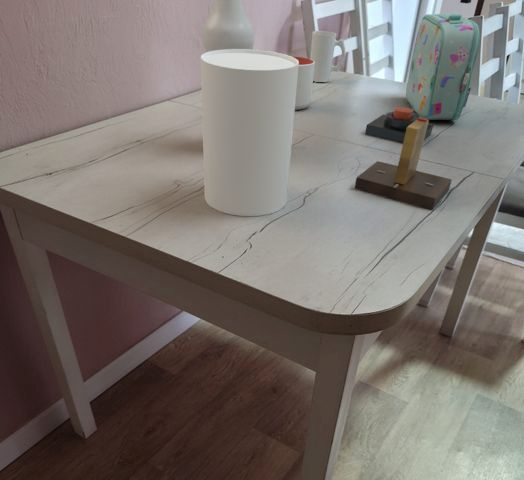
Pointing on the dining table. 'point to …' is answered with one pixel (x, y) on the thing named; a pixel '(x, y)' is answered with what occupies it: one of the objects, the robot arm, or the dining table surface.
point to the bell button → (402, 113)
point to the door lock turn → (411, 150)
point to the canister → (247, 129)
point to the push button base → (392, 128)
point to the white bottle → (227, 27)
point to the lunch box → (442, 66)
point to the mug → (325, 54)
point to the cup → (304, 82)
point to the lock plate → (413, 191)
